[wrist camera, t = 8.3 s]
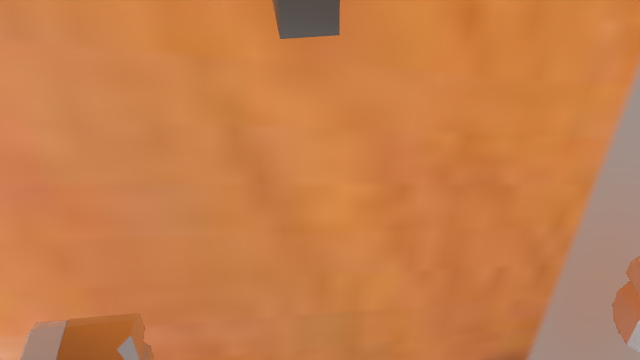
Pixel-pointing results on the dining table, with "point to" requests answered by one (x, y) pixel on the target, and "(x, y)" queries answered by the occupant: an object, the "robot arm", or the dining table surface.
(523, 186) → the dining table surface
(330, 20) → the hammer
